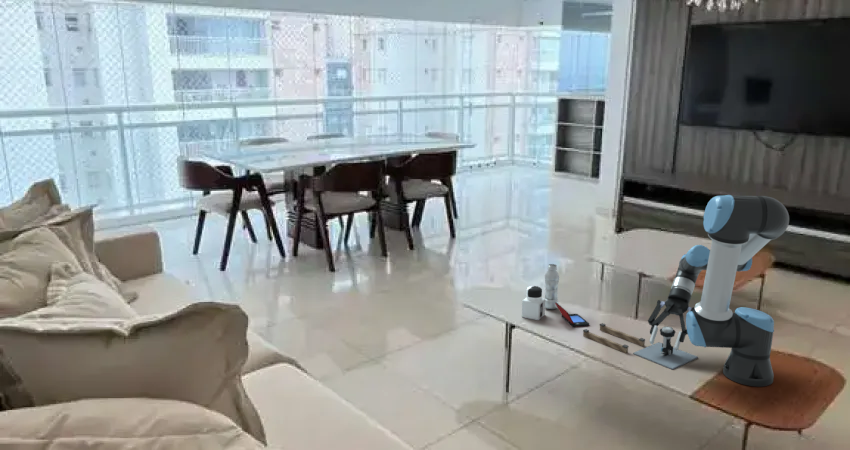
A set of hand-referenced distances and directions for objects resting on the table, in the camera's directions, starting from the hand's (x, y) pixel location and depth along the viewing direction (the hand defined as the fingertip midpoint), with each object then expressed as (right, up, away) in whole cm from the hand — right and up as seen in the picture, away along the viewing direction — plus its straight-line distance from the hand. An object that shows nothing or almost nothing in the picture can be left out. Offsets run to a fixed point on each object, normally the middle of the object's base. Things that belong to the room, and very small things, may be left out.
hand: (663, 345), depth 220 cm
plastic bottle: (-30, +6, +52) cm, 60 cm away
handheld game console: (-24, +2, +37) cm, 44 cm away
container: (-39, +4, +43) cm, 58 cm away
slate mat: (+2, -4, +4) cm, 6 cm away
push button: (+2, -4, +4) cm, 6 cm away
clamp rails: (-13, -1, +17) cm, 21 cm away
